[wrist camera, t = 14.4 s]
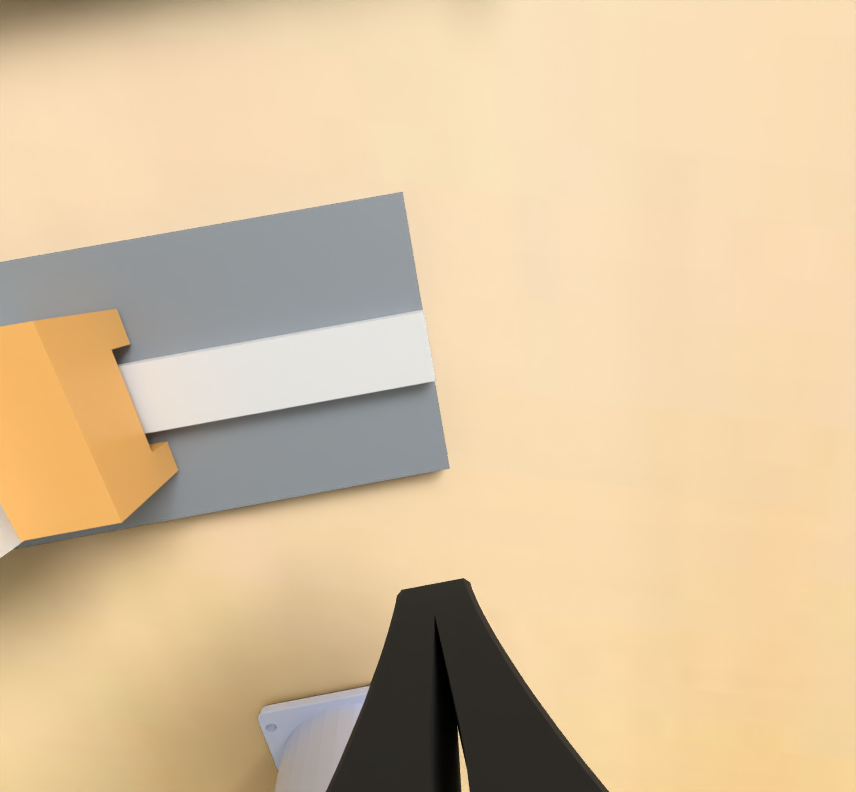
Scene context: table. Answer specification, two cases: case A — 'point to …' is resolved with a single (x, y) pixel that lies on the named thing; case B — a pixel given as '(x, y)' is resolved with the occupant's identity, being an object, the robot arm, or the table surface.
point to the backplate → (259, 351)
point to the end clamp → (71, 428)
